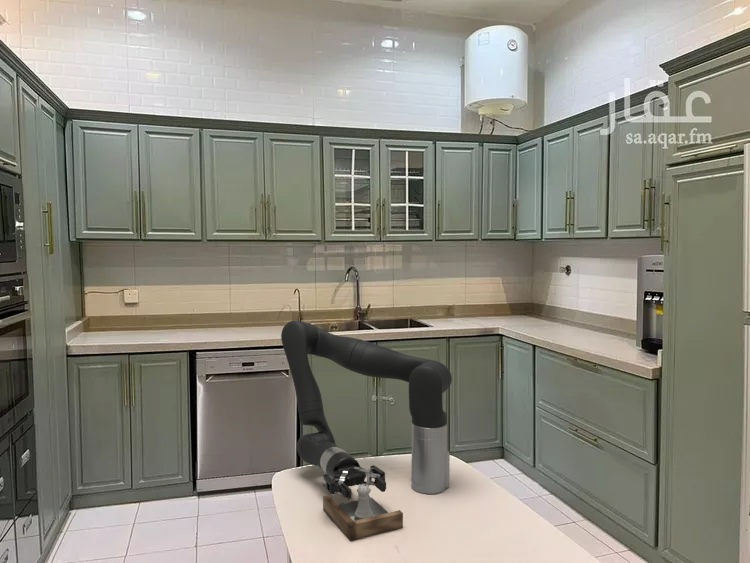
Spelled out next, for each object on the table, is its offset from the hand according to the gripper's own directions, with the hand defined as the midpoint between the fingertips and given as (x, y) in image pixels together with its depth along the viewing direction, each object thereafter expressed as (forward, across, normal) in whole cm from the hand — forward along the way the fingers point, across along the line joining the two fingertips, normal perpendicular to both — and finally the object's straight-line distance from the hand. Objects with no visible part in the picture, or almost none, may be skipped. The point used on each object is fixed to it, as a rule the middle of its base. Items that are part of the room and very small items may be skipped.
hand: (367, 491), depth 123 cm
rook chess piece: (-2, 0, +8) cm, 8 cm away
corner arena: (-4, 0, +8) cm, 9 cm away
